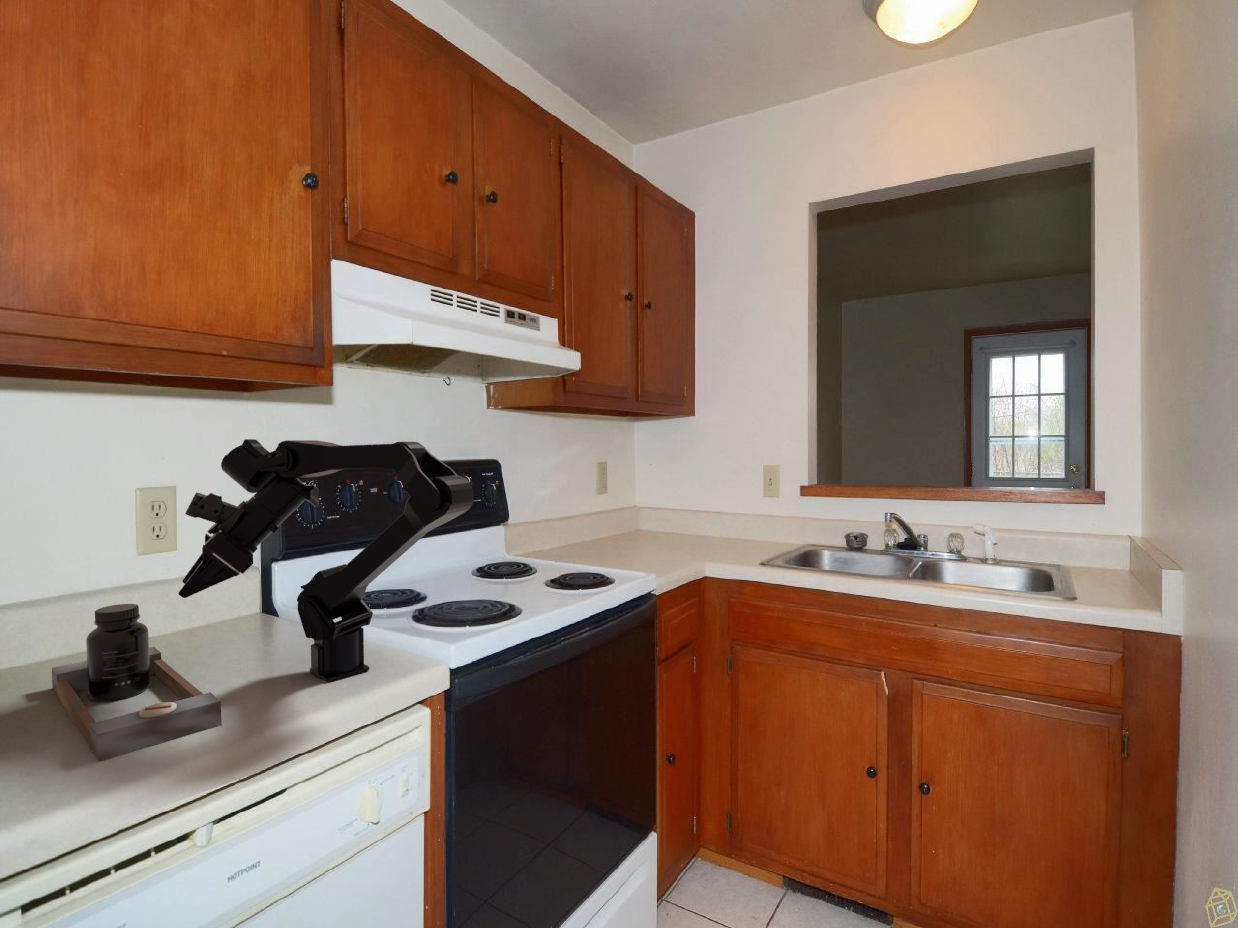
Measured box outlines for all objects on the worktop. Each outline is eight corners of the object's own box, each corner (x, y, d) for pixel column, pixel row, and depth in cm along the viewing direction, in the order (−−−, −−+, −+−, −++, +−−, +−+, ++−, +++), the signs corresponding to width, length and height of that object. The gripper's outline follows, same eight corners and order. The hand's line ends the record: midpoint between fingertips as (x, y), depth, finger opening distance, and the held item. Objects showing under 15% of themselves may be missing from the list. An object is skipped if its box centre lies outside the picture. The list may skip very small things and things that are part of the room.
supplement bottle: (85, 692, 89) (82, 607, 89) (145, 679, 94) (143, 598, 93) (91, 707, 84) (88, 617, 84) (154, 692, 89) (151, 607, 88)
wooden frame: (154, 665, 99) (154, 643, 99) (221, 724, 79) (220, 695, 79) (52, 688, 90) (51, 663, 90) (98, 761, 70) (96, 728, 70)
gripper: (223, 470, 103) (140, 545, 97) (222, 476, 87) (123, 565, 81) (280, 516, 107) (203, 589, 102) (289, 529, 91) (198, 617, 86)
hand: (183, 589), depth 92 cm, fingers open, 9 cm apart
